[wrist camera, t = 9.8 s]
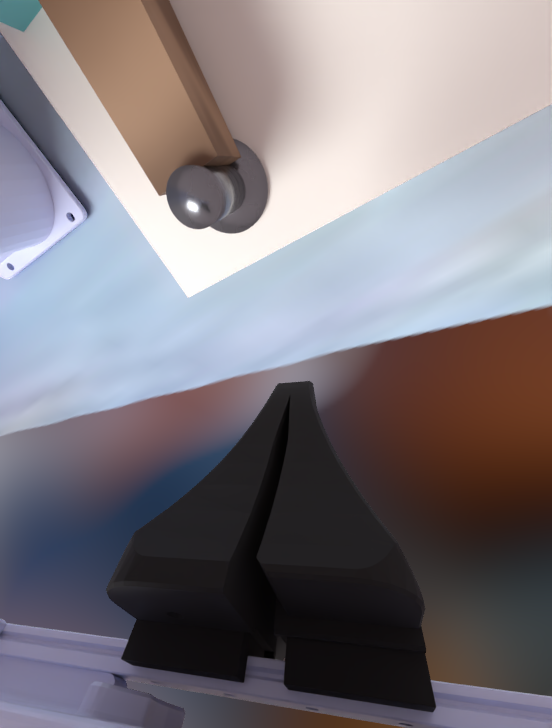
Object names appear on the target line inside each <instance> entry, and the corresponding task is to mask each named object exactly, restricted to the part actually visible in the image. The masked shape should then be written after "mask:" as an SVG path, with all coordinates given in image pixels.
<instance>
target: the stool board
mask: <svg viewBox="0 0 552 728" xmlns="http://www.w3.org/2000/svg"><path fill="white" fill-rule="evenodd" d="M169 1H170V3H171V6H172V8H173V10H174V12H175V14H176V16H177V19H178V21H179V23H180V25H181V27H182V29H183V32H184V34H185V36H186V38H187V40H188V42H189V45H190V47H191V49H192V51H193V53H194V55H195V58H196V60H197V62H198V64H199V66H200V68H201V71H202V73H203V75H204V77H205V79H206V81H207V84H208V86H209V88H210V90H211V92H212V94H213V97H214V99H215V101H216V103H217V105H218V107H219V110H220V112H221V114H222V116H223V118H224V120H225V123H226V125H227V127H228V129H229V131H230V133H231V136H232V138H233V140H234V142H235V144H236V146H237V149H238V151H239V153H240V155H241V158H239V159H238V160H236V161H235V162H233V163H232V164H230V165H229V166H232V167H233V168H235V169H236V170H237V171H238V172H239V173H240V175H241V176H242V178H243V181H244V184H245V189H246V194H245V199H244V202H243V204H242V206H241V207H240V208H239V209H238V210H236V211H235V212H233V213H231V214H230V215H228V216H226V217H225V218H223V219H221V220H219V221H218V222H216V223H214V224H212V225H211V226H209V227H207V228H204V229H192V228H189V227H187V226H185V225H183V224H182V223H181V222H180V221H179V220H177V218H176V217H175V216H174V215H173V213H172V211H171V210H170V207H169V205H168V202H167V197H166V195H162V196H159V195H158V193H157V192H156V190H155V189H154V187H153V185H152V184H151V182H150V180H149V179H148V177H147V176H146V174H145V172H144V171H143V169H142V167H141V166H140V164H139V163H138V161H137V159H136V158H135V156H134V155H133V153H132V151H131V150H130V148H129V146H128V145H127V143H126V142H125V140H124V138H123V137H122V135H121V134H120V132H119V130H118V129H117V127H116V125H115V124H114V122H113V121H112V119H111V117H110V116H109V114H108V112H107V111H106V109H105V108H104V106H103V104H102V103H101V101H100V100H99V98H98V96H97V95H96V93H95V91H94V90H93V88H92V87H91V85H90V83H89V82H88V80H87V79H86V77H85V75H84V74H83V72H82V70H81V69H80V67H79V66H78V64H77V62H76V61H75V59H74V57H73V56H72V54H71V53H70V51H69V49H68V48H67V46H66V45H65V43H64V41H63V40H62V38H61V36H60V35H59V33H58V32H57V30H56V28H55V27H54V25H53V24H52V22H51V20H50V19H49V17H48V15H47V14H46V12H45V11H44V9H43V7H42V6H41V4H40V2H39V1H38V0H0V32H1V34H2V35H3V36H4V38H5V39H6V41H7V42H8V44H9V45H10V46H11V48H12V49H13V51H14V52H15V53H16V55H17V56H18V58H19V59H20V60H21V62H22V63H23V65H24V66H25V68H26V69H27V70H28V72H29V73H30V75H31V76H32V77H33V79H34V80H35V82H36V83H37V84H38V86H39V87H40V89H41V90H42V92H43V93H44V94H45V96H46V97H47V99H48V100H49V101H50V103H51V104H52V106H53V107H54V109H55V110H56V111H57V113H58V114H59V116H60V117H61V118H62V120H63V121H64V123H65V124H66V125H67V127H68V128H69V130H70V131H71V133H72V134H73V135H74V137H75V138H76V140H77V141H78V142H79V144H80V145H81V147H82V148H83V150H84V151H85V152H86V154H87V155H88V157H89V158H90V159H91V161H92V162H93V164H94V165H95V166H96V168H97V169H98V171H99V172H100V174H101V175H102V176H103V178H104V179H105V181H106V182H107V183H108V185H109V186H110V188H111V189H112V191H113V192H114V193H115V195H116V196H117V198H118V199H119V200H120V202H121V203H122V205H123V206H124V207H125V209H126V210H127V212H128V213H129V215H130V216H131V217H132V219H133V220H134V222H135V223H136V224H137V226H138V227H139V229H140V230H141V232H142V233H143V234H144V236H145V237H146V239H147V240H148V241H149V243H150V244H151V246H152V247H153V248H154V250H155V251H156V253H157V254H158V256H159V257H160V258H161V260H162V261H163V263H164V264H165V265H166V267H167V268H168V270H169V271H170V273H171V274H172V275H173V277H174V278H175V280H176V281H177V282H178V284H179V285H180V287H181V288H182V289H183V291H184V292H185V294H186V295H187V297H188V298H189V297H191V296H192V295H194V294H196V293H198V292H200V291H202V290H204V289H206V288H207V287H209V286H211V285H213V284H215V283H217V282H219V281H221V280H222V279H224V278H226V277H228V276H230V275H232V274H234V273H236V272H237V271H239V270H241V269H243V268H245V267H247V266H249V265H251V264H252V263H254V262H256V261H258V260H260V259H262V258H264V257H266V256H267V255H269V254H271V253H273V252H275V251H277V250H279V249H281V248H282V247H284V246H286V245H288V244H290V243H292V242H294V241H296V240H298V239H299V238H301V237H303V236H305V235H307V234H309V233H311V232H313V231H314V230H316V229H318V228H320V227H322V226H324V225H326V224H328V223H329V222H331V221H333V220H335V219H337V218H339V217H341V216H343V215H344V214H346V213H348V212H350V211H352V210H354V209H356V208H358V207H359V206H361V205H363V204H365V203H367V202H369V201H371V200H373V199H374V198H376V197H378V196H380V195H382V194H384V193H386V192H388V191H389V190H391V189H393V188H395V187H397V186H399V185H401V184H403V183H404V182H406V181H408V180H410V179H412V178H414V177H416V176H418V175H420V174H421V173H423V172H425V171H427V170H429V169H431V168H433V167H435V166H436V165H438V164H440V163H442V162H444V161H446V160H448V159H450V158H451V157H453V156H455V155H457V154H459V153H461V152H463V151H465V150H466V149H468V148H470V147H472V146H474V145H476V144H478V143H480V142H481V141H483V140H485V139H487V138H489V137H491V136H493V135H495V134H496V133H498V132H500V131H502V130H504V129H506V128H508V127H510V126H511V125H513V124H515V123H517V122H519V121H521V120H523V119H525V118H526V117H528V116H530V115H532V114H534V113H536V112H538V111H540V110H541V109H543V108H545V107H547V106H549V105H551V104H552V0H169Z"/></svg>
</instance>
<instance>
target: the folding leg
mask: <svg viewBox="0 0 552 728" xmlns="http://www.w3.org/2000/svg"><path fill="white" fill-rule="evenodd" d="M38 1H39V2H40V4H41V6H42V7H43V9H44V11H45V12H46V14H47V15H48V17H49V19H50V20H51V22H52V24H53V25H54V27H55V28H56V30H57V32H58V33H59V35H60V36H61V38H62V40H63V41H64V43H65V45H66V46H67V48H68V49H69V51H70V53H71V54H72V56H73V57H74V59H75V61H76V62H77V64H78V66H79V67H80V69H81V70H82V72H83V74H84V75H85V77H86V79H87V80H88V82H89V83H90V85H91V87H92V88H93V90H94V91H95V93H96V95H97V96H98V98H99V100H100V101H101V103H102V104H103V106H104V108H105V109H106V111H107V112H108V114H109V116H110V117H111V119H112V121H113V122H114V124H115V125H116V127H117V129H118V130H119V132H120V134H121V135H122V137H123V138H124V140H125V142H126V143H127V145H128V146H129V148H130V150H131V151H132V153H133V155H134V156H135V158H136V159H137V161H138V163H139V164H140V166H141V167H142V169H143V171H144V172H145V174H146V176H147V177H148V179H149V180H150V182H151V184H152V185H153V187H154V189H155V190H156V192H157V193H158V195H159V196H162V195H166V197H167V202H168V205H169V207H170V210H171V211H172V213H173V215H174V216H175V217H176V218H177V220H179V221H180V222H181V223H182V224H183V225H185V226H187V227H189V228H192V229H204V228H207V227H209V226H211V225H212V224H214V223H216V222H218V221H219V220H221V219H223V218H225V217H226V216H228V215H230V214H231V213H233V212H235V211H236V210H238V209H239V208H240V207H241V206H242V204H243V202H244V199H245V194H246V189H245V184H244V181H243V178H242V176H241V175H240V173H239V172H238V171H237V170H236V169H235V168H233V167H232V166H229V165H230V164H232V163H233V162H235V161H236V160H238V159H239V158H241V155H240V153H239V151H238V149H237V146H236V144H235V142H234V140H233V138H232V136H231V133H230V131H229V129H228V127H227V125H226V123H225V120H224V118H223V116H222V114H221V112H220V110H219V107H218V105H217V103H216V101H215V99H214V97H213V94H212V92H211V90H210V88H209V86H208V84H207V81H206V79H205V77H204V75H203V73H202V71H201V68H200V66H199V64H198V62H197V60H196V58H195V55H194V53H193V51H192V49H191V47H190V45H189V42H188V40H187V38H186V36H185V34H184V32H183V29H182V27H181V25H180V23H179V21H178V19H177V16H176V14H175V12H174V10H173V8H172V6H171V3H170V1H169V0H38Z"/></svg>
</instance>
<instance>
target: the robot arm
mask: <svg viewBox="0 0 552 728" xmlns="http://www.w3.org/2000/svg"><path fill="white" fill-rule="evenodd" d="M71 213H72V214H73V215H74V217H75V220H74V219H73V218H72V217H71ZM86 219H87V212H86V210H85V208H84V207H83V206H82V204H81V203H80V202H79V201H78V199H77V198H76V197H75V195H74V194H73V193H72V191H71V190H70V189H69V188H68V186H67V185H66V184H65V182H64V181H63V180H62V179H61V177H60V176H59V175H58V173H57V172H56V171H55V169H54V168H53V167H52V166H51V164H50V163H49V162H48V160H47V159H46V158H45V157H44V155H43V154H42V153H41V151H40V150H39V149H38V147H37V146H36V145H35V144H34V142H33V141H32V140H31V138H30V137H29V136H28V134H27V133H26V132H25V131H24V129H23V128H22V127H21V125H20V124H19V123H18V122H17V120H16V119H15V118H14V116H13V115H12V114H11V112H10V111H9V110H8V109H7V107H6V106H5V105H4V103H3V102H2V101H1V99H0V276H1V277H2V278H4V279H11V278H13V277H15V276H16V275H17V274H18V273H20V272H21V271H22V270H23V269H25V268H26V267H27V266H28V265H30V264H31V263H32V262H33V261H35V260H36V259H37V258H38V257H40V256H41V255H42V254H43V253H45V252H46V251H47V250H49V249H50V248H51V247H52V246H54V245H55V244H56V243H57V242H59V241H60V240H61V239H62V238H64V237H65V236H66V235H67V234H69V233H70V232H71V231H72V230H74V229H75V228H76V227H77V226H79V225H80V224H81V223H82V222H84V221H85V220H86ZM12 265H13V266H14V267H13V266H12ZM106 591H107V594H108V596H109V598H110V599H111V600H112V601H113V602H114V603H115V604H117V605H118V606H119V607H121V608H122V609H124V610H125V611H126V612H128V613H129V614H130V615H132V616H133V617H135V618H136V619H137V620H136V623H135V625H134V628H133V630H132V633H131V635H130V638H129V640H126V639H120V638H112V637H105V636H97V635H90V634H82V633H75V632H67V631H60V630H53V629H45V628H37V627H30V626H22V625H16V624H8V623H6V622H5V621H4V620H2V619H0V728H182V724H183V720H184V716H185V711H184V708H180V707H178V706H175V705H172V704H169V703H166V702H164V701H162V700H160V699H157V698H156V697H154V696H153V695H151V694H149V693H145V692H140V691H137V690H132V689H128V688H127V683H126V681H125V680H129V681H135V682H141V683H147V684H153V685H158V686H164V687H171V688H177V689H182V690H188V691H194V692H200V693H206V694H211V695H218V696H223V697H229V698H235V699H242V700H247V701H253V702H259V703H265V704H271V705H276V706H282V707H288V708H294V709H300V710H306V711H312V712H318V713H324V714H329V715H335V716H341V717H347V718H353V719H359V720H365V721H371V722H377V723H383V724H388V725H395V726H400V727H406V728H552V697H550V696H543V695H535V694H528V693H521V692H513V691H506V690H498V689H491V688H483V687H476V686H469V685H461V684H454V683H446V682H438V681H431V679H430V675H429V670H428V665H427V661H426V656H425V653H426V647H425V642H424V637H423V633H422V628H421V623H422V619H423V615H424V611H425V606H424V600H423V597H422V594H421V591H420V588H419V586H418V583H417V581H416V579H415V576H414V574H413V572H412V570H411V568H410V566H409V564H408V562H407V560H406V558H405V556H404V554H403V552H402V550H401V549H400V547H399V544H398V542H397V541H396V539H395V538H394V537H393V536H392V534H391V533H390V532H389V530H388V529H387V528H386V527H385V525H384V524H383V523H382V522H381V520H380V519H379V518H378V516H377V515H376V514H375V513H374V511H373V510H372V508H371V507H370V506H369V504H368V503H367V502H366V500H365V499H364V497H363V496H362V494H361V493H360V491H359V490H358V488H357V487H356V485H355V484H354V482H353V481H352V479H351V478H350V476H349V475H348V473H347V471H346V470H345V468H344V466H343V465H342V463H341V461H340V459H339V458H338V456H337V454H336V452H335V450H334V448H333V446H332V445H331V442H330V441H329V438H328V436H327V434H326V432H325V429H324V427H323V424H322V422H321V419H320V417H319V414H318V411H317V407H316V400H315V394H314V388H313V383H311V382H310V381H305V382H292V383H279V384H278V385H277V386H276V388H275V389H274V391H273V393H272V394H271V396H270V398H269V399H268V401H267V403H266V404H265V406H264V407H263V409H262V410H261V412H260V413H259V414H258V416H257V418H256V419H255V420H254V422H253V423H252V425H251V426H250V427H249V429H248V430H247V431H246V432H245V434H244V435H243V436H242V438H241V439H240V440H239V442H238V443H237V444H236V445H235V446H234V447H233V449H232V450H231V451H230V452H229V453H228V454H227V456H225V458H224V459H223V460H222V461H221V462H220V463H219V464H218V465H217V466H216V467H215V468H214V469H213V470H212V471H211V472H210V473H209V474H208V475H207V476H206V477H205V478H204V479H203V480H202V481H200V482H199V483H198V484H197V485H196V486H195V487H194V488H192V489H191V490H190V491H189V492H188V493H187V494H185V495H184V496H183V497H182V498H180V499H179V500H178V501H177V502H176V503H174V504H173V505H172V506H171V507H169V508H168V509H167V510H165V511H164V512H163V513H161V514H160V515H158V516H157V517H156V518H154V519H153V520H151V521H150V522H149V523H147V524H146V525H145V526H143V527H142V528H140V529H139V530H137V531H136V532H135V533H134V535H133V537H132V538H131V540H130V542H129V544H128V546H127V547H126V549H125V552H124V554H123V555H122V558H121V559H120V561H119V564H118V566H117V568H116V570H115V572H114V574H113V576H112V578H111V580H110V582H109V584H108V586H107V588H106ZM284 658H285V661H283V659H284Z"/></svg>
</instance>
